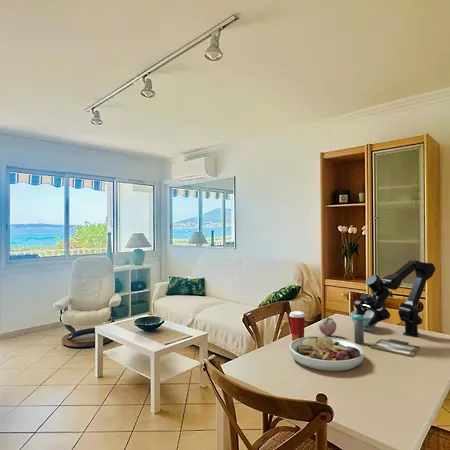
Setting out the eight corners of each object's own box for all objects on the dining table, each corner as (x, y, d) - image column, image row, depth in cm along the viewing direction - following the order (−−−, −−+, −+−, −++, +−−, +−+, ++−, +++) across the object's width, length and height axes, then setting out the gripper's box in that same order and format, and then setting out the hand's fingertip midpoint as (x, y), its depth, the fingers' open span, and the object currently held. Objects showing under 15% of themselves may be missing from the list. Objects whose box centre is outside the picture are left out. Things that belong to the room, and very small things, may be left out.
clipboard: (380, 340, 161) (380, 337, 161) (419, 347, 149) (419, 344, 149) (370, 348, 150) (370, 344, 150) (412, 357, 139) (412, 353, 139)
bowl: (276, 361, 138) (275, 342, 139) (310, 342, 160) (310, 326, 161) (346, 382, 118) (345, 360, 118) (374, 357, 140) (374, 339, 140)
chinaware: (380, 325, 185) (379, 312, 185) (380, 333, 171) (380, 318, 171) (351, 323, 191) (351, 310, 191) (349, 330, 177) (349, 316, 177)
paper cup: (304, 338, 165) (304, 310, 165) (307, 344, 157) (306, 314, 158) (289, 338, 166) (288, 310, 166) (290, 343, 158) (289, 314, 158)
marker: (356, 340, 160) (355, 314, 161) (365, 342, 158) (364, 315, 158) (353, 343, 157) (352, 315, 158) (362, 345, 155) (361, 317, 155)
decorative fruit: (322, 332, 174) (322, 313, 175) (338, 335, 170) (337, 315, 170) (316, 337, 167) (315, 317, 167) (332, 340, 162) (332, 320, 162)
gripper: (356, 284, 169) (339, 307, 165) (385, 290, 152) (366, 316, 148) (369, 298, 172) (352, 322, 168) (398, 306, 154) (380, 332, 150)
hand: (361, 322), depth 158 cm, fingers open, 9 cm apart
